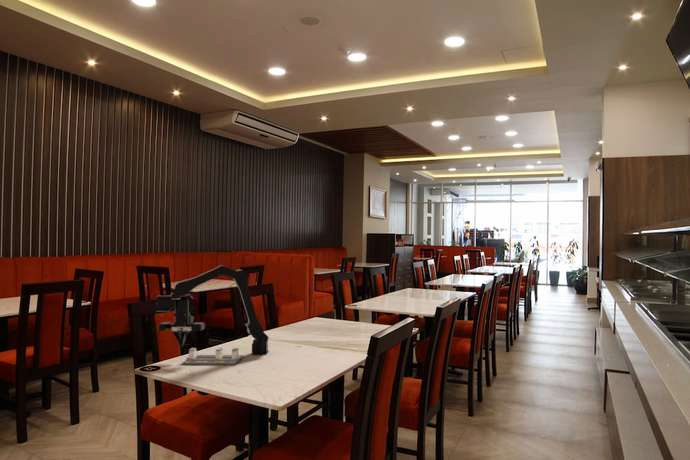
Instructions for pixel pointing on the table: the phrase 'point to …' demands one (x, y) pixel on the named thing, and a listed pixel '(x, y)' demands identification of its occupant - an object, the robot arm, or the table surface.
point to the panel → (212, 360)
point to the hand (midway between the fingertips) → (181, 346)
